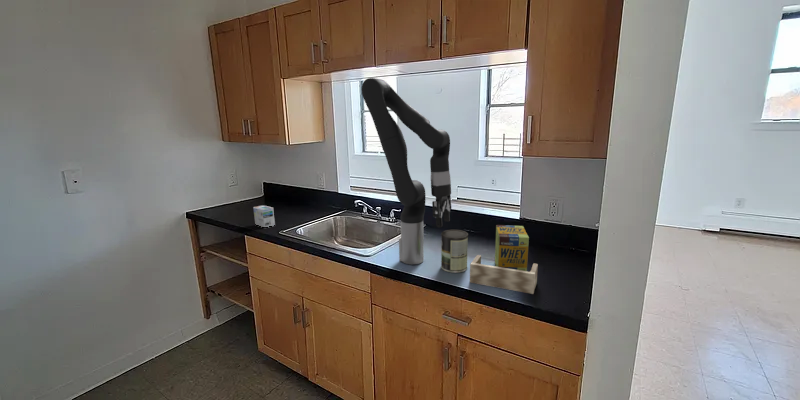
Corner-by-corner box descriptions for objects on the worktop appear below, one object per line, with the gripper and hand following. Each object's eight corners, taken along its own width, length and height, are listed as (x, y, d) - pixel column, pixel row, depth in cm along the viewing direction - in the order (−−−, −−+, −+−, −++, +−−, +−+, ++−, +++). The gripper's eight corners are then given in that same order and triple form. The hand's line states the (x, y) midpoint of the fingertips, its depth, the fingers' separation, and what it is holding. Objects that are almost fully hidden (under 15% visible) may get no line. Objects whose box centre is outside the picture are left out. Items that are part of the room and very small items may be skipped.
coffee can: (437, 270, 141) (437, 235, 138) (445, 261, 150) (446, 228, 147) (463, 274, 137) (464, 238, 134) (470, 264, 146) (471, 231, 143)
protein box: (497, 276, 135) (499, 236, 132) (494, 260, 150) (496, 224, 147) (527, 278, 133) (529, 237, 130) (521, 262, 148) (523, 225, 145)
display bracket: (469, 282, 131) (470, 264, 129) (476, 272, 139) (477, 255, 137) (533, 294, 121) (534, 274, 120) (536, 282, 129) (537, 263, 128)
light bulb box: (275, 225, 206) (273, 207, 204) (264, 228, 201) (262, 209, 199) (265, 222, 213) (263, 204, 210) (254, 225, 208) (252, 207, 205)
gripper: (438, 180, 147) (440, 219, 150) (424, 186, 135) (427, 228, 138) (456, 179, 144) (458, 219, 147) (443, 186, 131) (446, 229, 134)
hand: (443, 224), depth 142 cm, fingers open, 8 cm apart
